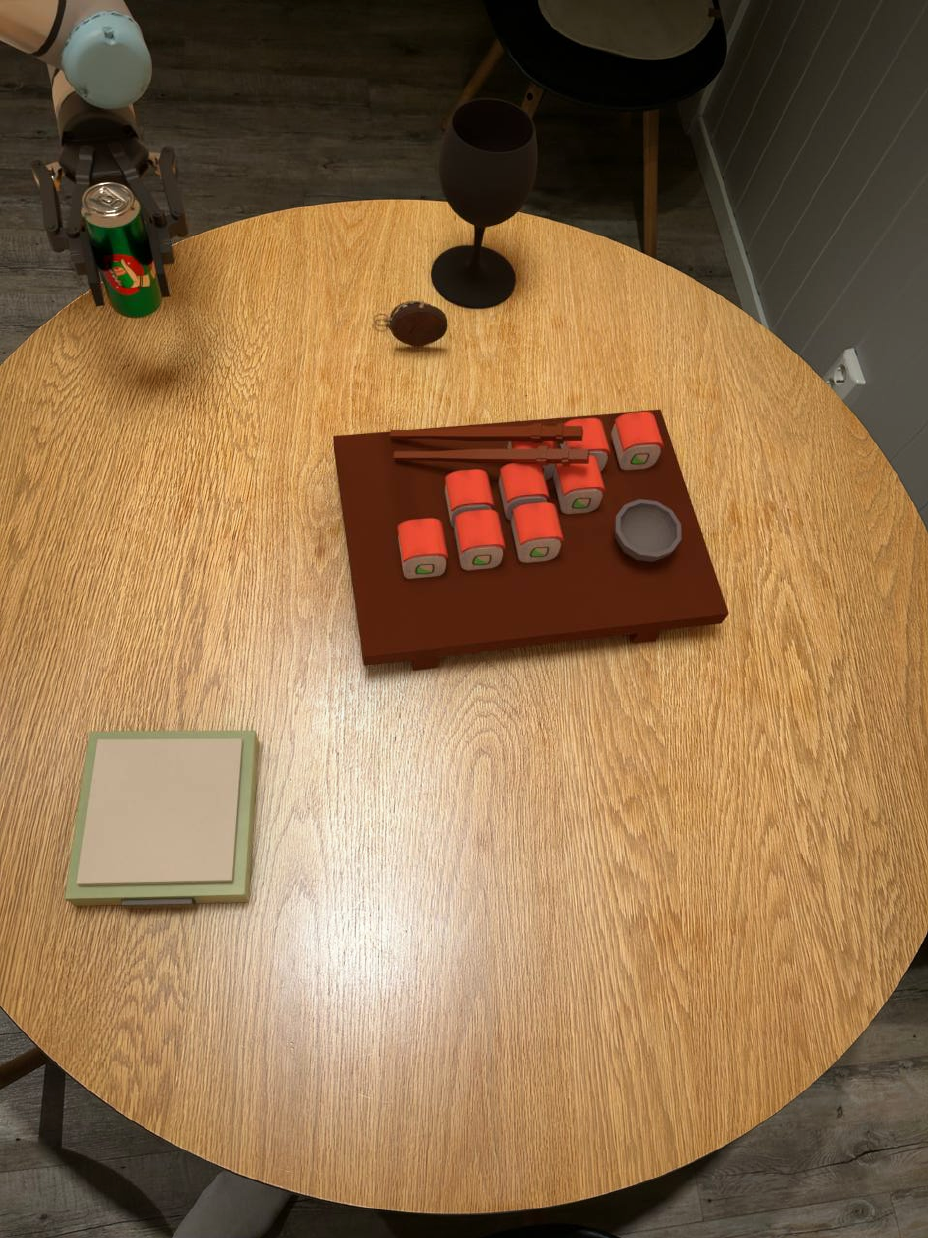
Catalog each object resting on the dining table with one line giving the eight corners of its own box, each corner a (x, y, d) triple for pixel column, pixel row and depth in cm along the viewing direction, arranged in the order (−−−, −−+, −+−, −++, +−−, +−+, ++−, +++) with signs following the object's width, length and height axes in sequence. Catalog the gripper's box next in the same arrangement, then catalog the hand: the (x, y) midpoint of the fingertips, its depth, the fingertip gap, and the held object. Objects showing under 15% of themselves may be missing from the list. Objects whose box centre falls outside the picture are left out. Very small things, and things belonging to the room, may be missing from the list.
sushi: (334, 462, 99) (330, 385, 88) (649, 435, 104) (681, 360, 94) (363, 677, 88) (363, 618, 77) (713, 634, 94) (757, 574, 83)
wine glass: (412, 270, 113) (421, 116, 95) (475, 234, 117) (495, 79, 99) (470, 322, 110) (490, 172, 92) (533, 283, 114) (564, 133, 96)
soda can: (133, 276, 93) (104, 170, 83) (175, 298, 93) (150, 194, 82) (99, 307, 91) (64, 202, 80) (141, 329, 90) (111, 226, 80)
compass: (440, 305, 111) (444, 256, 104) (444, 357, 107) (449, 309, 101) (372, 304, 110) (372, 255, 103) (374, 356, 106) (374, 308, 100)
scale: (73, 912, 76) (60, 903, 73) (98, 743, 83) (86, 727, 79) (248, 908, 78) (243, 899, 74) (259, 742, 84) (254, 727, 81)
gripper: (195, 146, 99) (237, 306, 89) (14, 166, 95) (36, 335, 85) (183, 77, 92) (226, 242, 82) (-13, 95, 88) (9, 270, 79)
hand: (130, 289), depth 84 cm, fingers closed on soda can, 5 cm apart
